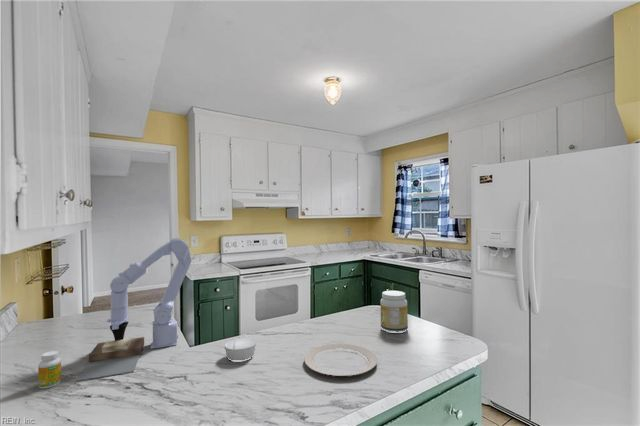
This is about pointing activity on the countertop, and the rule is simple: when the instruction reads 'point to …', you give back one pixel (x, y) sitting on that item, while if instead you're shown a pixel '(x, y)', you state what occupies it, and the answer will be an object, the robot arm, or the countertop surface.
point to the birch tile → (116, 345)
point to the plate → (366, 352)
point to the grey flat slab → (108, 368)
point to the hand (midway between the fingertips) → (119, 342)
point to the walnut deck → (132, 350)
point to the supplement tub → (394, 311)
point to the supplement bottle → (49, 370)
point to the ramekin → (240, 348)
